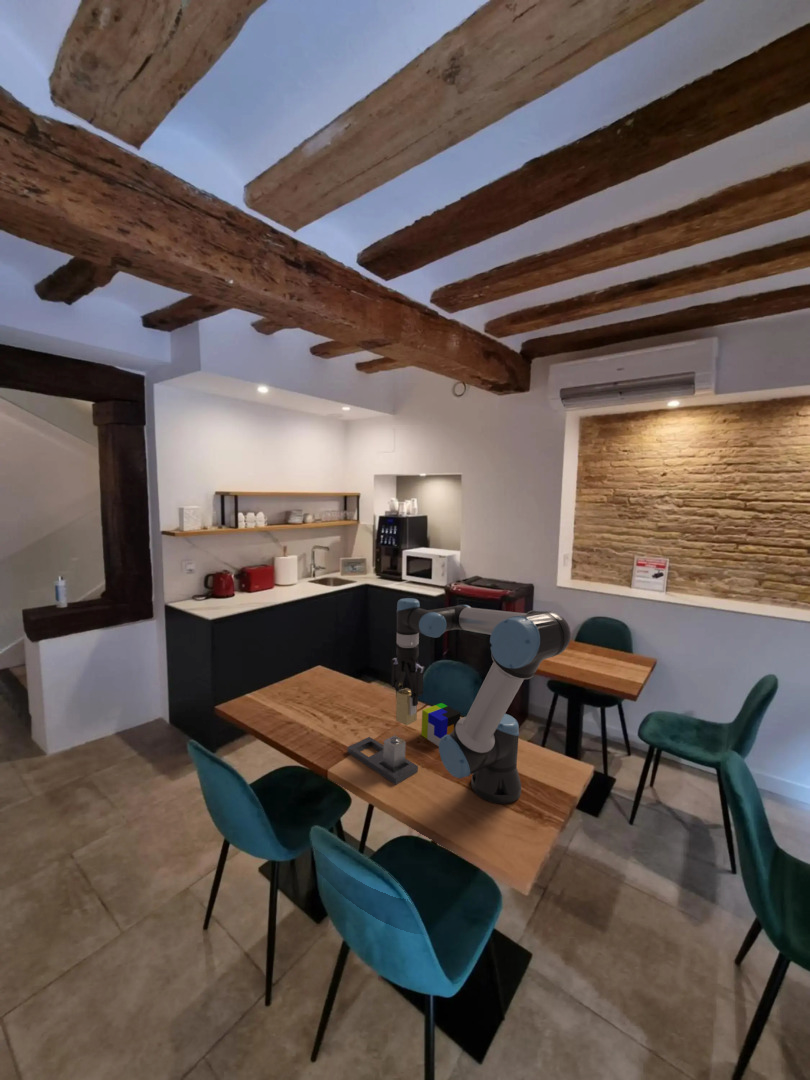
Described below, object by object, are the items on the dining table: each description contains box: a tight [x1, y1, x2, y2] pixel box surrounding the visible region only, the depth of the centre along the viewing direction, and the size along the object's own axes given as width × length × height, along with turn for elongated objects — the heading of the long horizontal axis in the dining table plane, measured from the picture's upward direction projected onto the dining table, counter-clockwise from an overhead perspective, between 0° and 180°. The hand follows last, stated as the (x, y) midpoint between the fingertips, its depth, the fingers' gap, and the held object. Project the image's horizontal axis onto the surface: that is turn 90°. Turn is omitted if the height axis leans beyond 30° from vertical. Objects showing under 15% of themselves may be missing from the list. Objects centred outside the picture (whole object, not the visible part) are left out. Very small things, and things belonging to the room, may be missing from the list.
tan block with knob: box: [395, 687, 418, 726], centre depth 154 cm, size 5×5×10 cm
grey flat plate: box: [346, 736, 419, 786], centre depth 152 cm, size 24×10×2 cm, turn 45°
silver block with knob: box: [383, 734, 407, 773], centre depth 147 cm, size 5×5×10 cm
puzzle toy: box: [420, 702, 462, 747], centre depth 169 cm, size 10×10×10 cm
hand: (406, 711), depth 155 cm, fingers closed on tan block with knob, 5 cm apart
